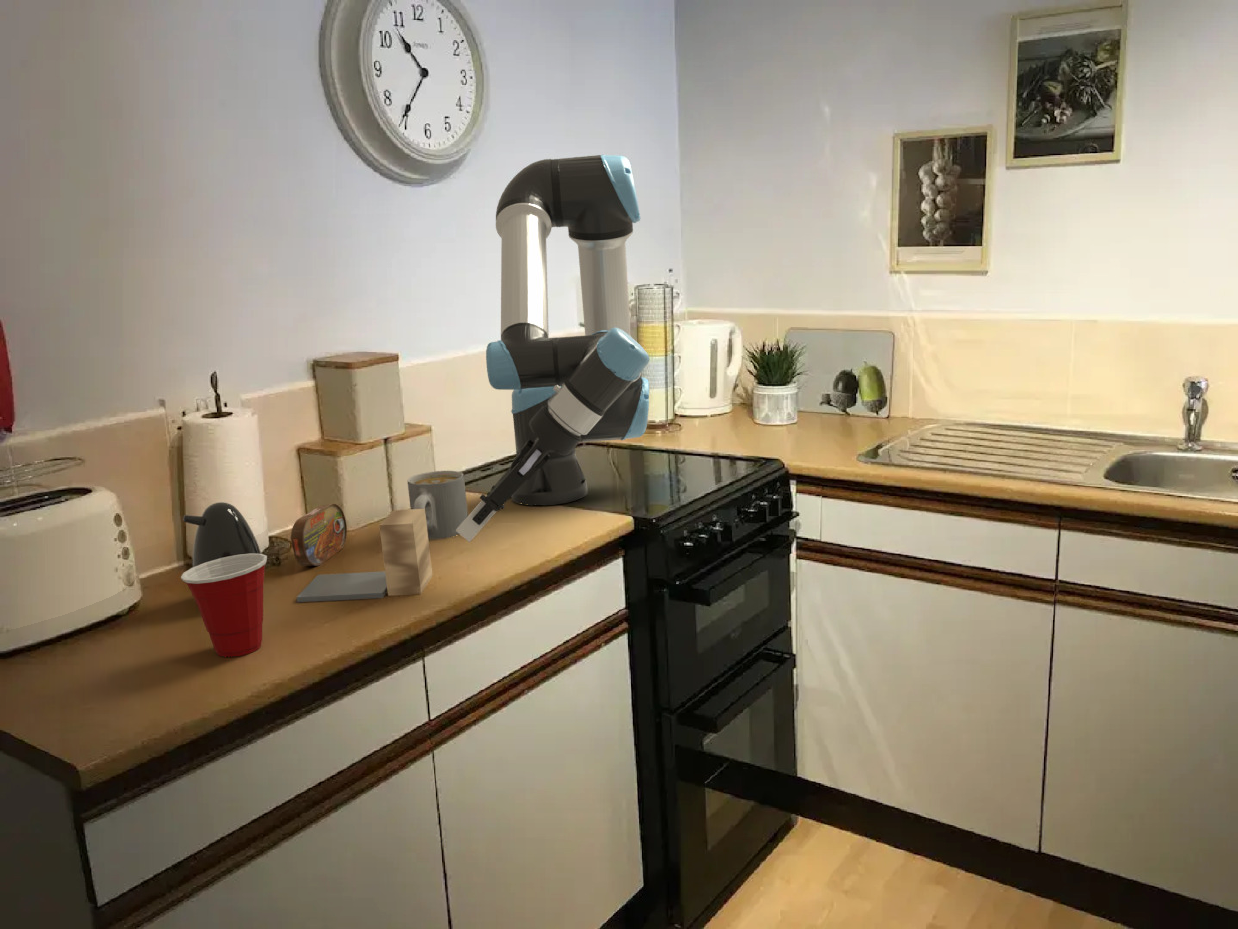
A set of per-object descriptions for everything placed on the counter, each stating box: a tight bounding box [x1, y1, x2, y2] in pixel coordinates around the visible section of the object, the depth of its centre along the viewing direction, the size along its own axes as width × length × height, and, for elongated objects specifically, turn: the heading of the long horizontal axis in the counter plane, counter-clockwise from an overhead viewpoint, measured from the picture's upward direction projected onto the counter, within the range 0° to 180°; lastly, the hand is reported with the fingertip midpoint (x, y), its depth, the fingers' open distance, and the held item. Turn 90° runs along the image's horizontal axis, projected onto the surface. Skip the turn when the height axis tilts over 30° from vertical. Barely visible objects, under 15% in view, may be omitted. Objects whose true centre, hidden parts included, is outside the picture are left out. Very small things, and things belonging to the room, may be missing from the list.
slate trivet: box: [296, 570, 388, 603], centre depth 158 cm, size 13×10×1 cm
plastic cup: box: [180, 553, 268, 658], centre depth 136 cm, size 11×11×12 cm
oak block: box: [378, 508, 434, 597], centre depth 157 cm, size 5×8×11 cm, turn 178°
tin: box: [290, 503, 348, 567], centre depth 174 cm, size 15×3×8 cm, turn 168°
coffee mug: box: [407, 470, 469, 540], centre depth 183 cm, size 13×10×10 cm
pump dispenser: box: [182, 501, 266, 571], centre depth 156 cm, size 10×10×15 cm
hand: (463, 535), depth 156 cm, fingers closed
